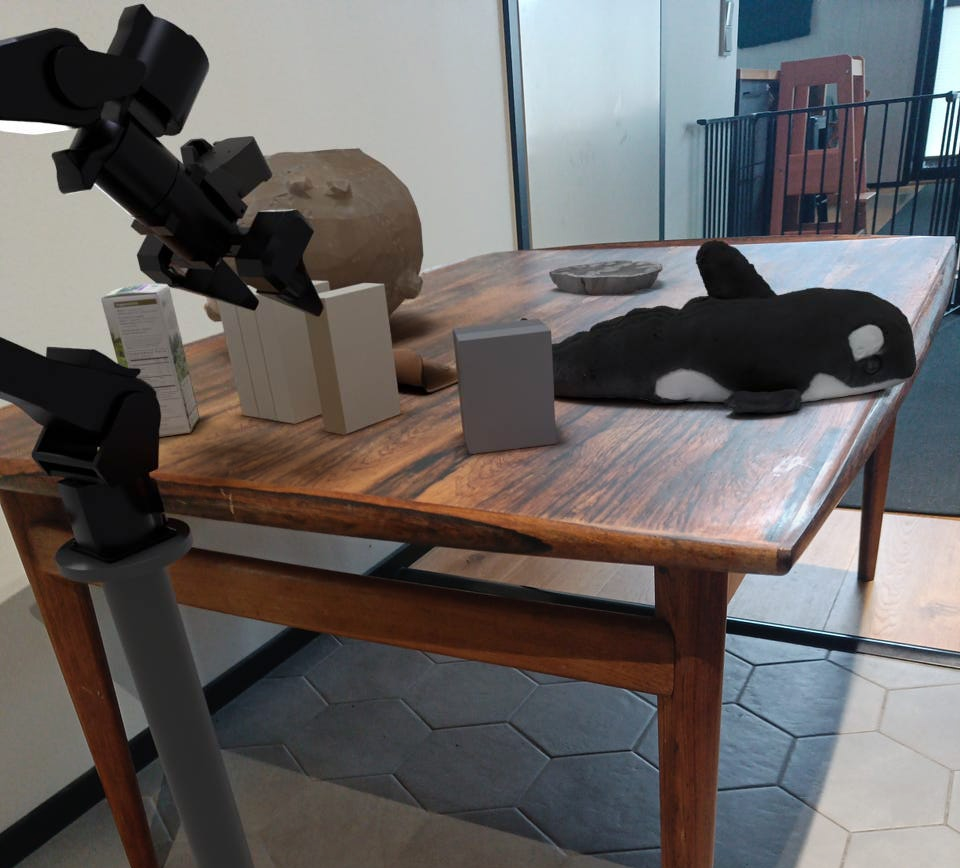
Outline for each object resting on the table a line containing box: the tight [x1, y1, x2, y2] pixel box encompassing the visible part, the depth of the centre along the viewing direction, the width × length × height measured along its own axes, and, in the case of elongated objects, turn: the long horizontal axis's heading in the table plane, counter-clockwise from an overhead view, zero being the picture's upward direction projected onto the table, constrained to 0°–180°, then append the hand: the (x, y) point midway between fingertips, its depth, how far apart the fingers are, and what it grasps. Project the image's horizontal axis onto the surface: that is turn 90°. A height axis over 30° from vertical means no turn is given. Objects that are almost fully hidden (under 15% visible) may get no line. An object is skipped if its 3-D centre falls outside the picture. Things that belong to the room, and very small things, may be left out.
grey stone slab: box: [548, 260, 664, 296], centre depth 151 cm, size 20×17×3 cm
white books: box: [217, 281, 330, 425], centre depth 96 cm, size 8×9×13 cm
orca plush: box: [519, 239, 917, 414], centre depth 90 cm, size 21×41×14 cm, turn 61°
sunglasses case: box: [393, 347, 458, 393], centre depth 106 cm, size 18×7×7 cm, turn 52°
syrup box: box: [100, 283, 201, 438], centre depth 93 cm, size 6×6×14 cm
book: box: [305, 283, 402, 436], centre depth 89 cm, size 8×3×13 cm, turn 139°
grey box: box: [452, 318, 557, 455], centre depth 80 cm, size 8×6×10 cm
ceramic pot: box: [202, 147, 424, 323], centre depth 129 cm, size 33×34×25 cm
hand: (287, 309), depth 82 cm, fingers open, 9 cm apart
